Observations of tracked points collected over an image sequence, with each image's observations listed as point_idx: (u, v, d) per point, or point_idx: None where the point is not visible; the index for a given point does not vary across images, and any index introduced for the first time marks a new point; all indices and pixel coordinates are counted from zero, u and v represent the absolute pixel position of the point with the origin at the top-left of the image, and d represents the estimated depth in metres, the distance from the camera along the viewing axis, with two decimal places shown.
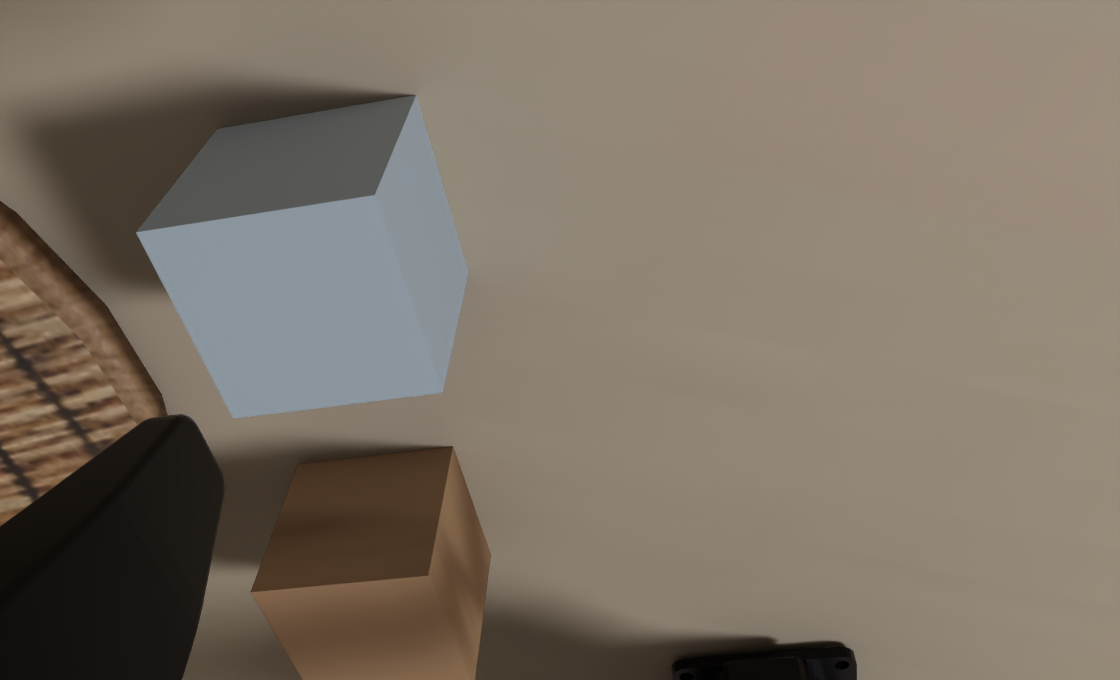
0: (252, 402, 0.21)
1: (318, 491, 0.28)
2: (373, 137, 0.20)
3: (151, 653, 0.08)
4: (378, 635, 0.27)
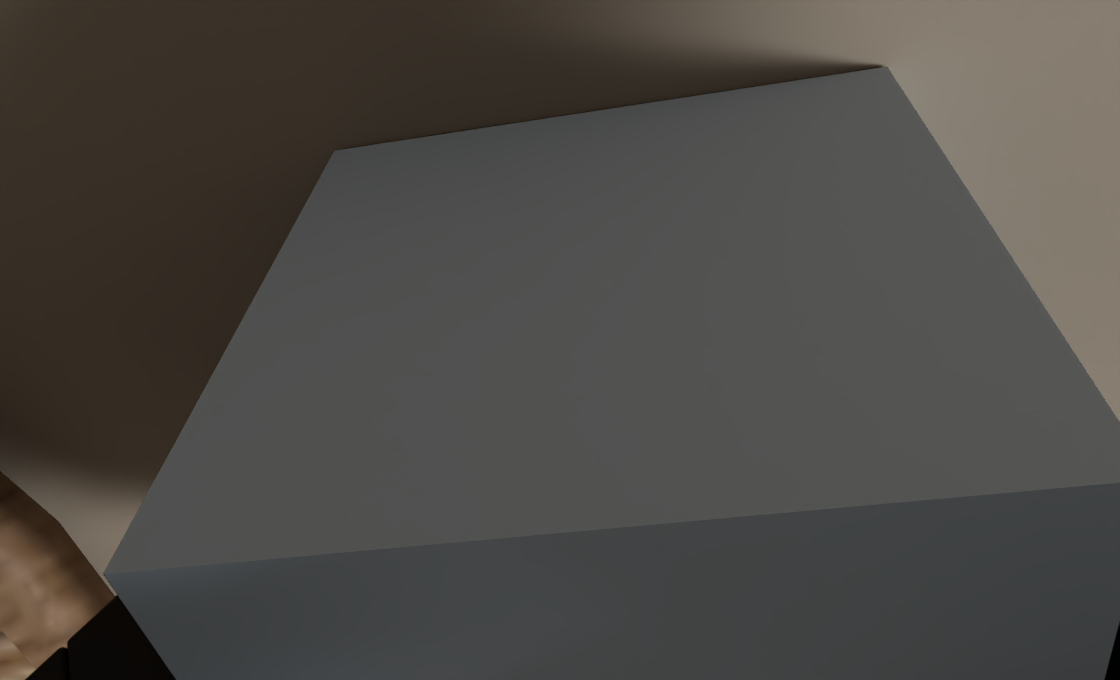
0: None
1: None
2: (870, 197, 0.06)
3: None
4: None
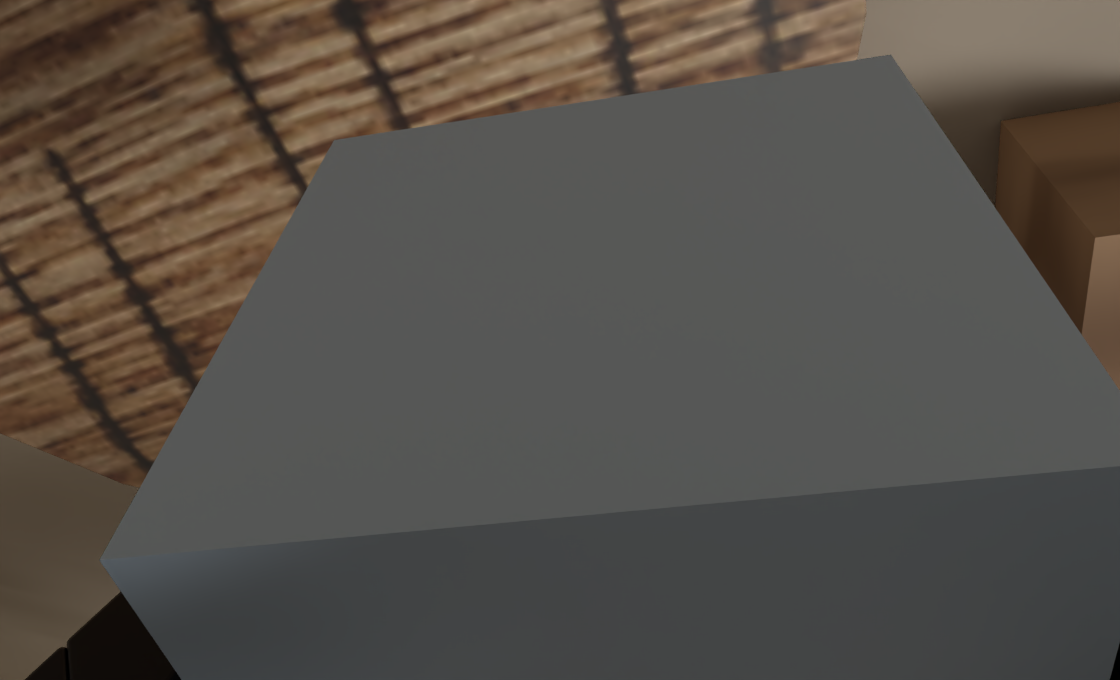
0: None
1: (1075, 139, 0.19)
2: (874, 182, 0.06)
3: None
4: None
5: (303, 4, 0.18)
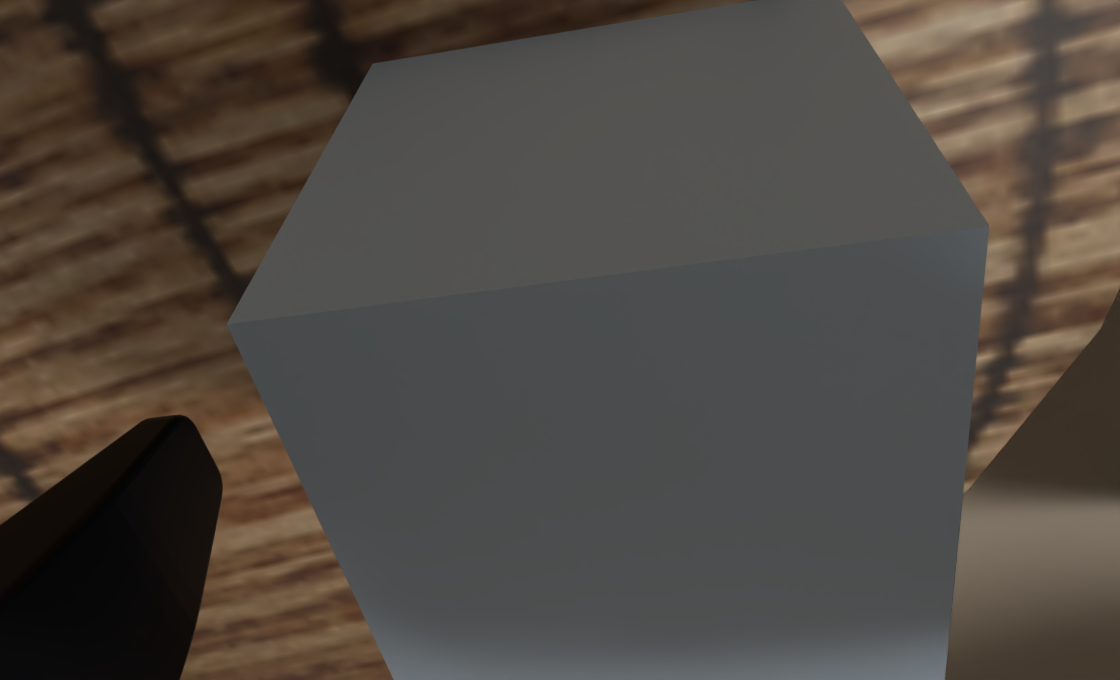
0: None
1: None
2: (809, 75, 0.08)
3: (149, 653, 0.08)
4: None
5: (260, 43, 0.10)
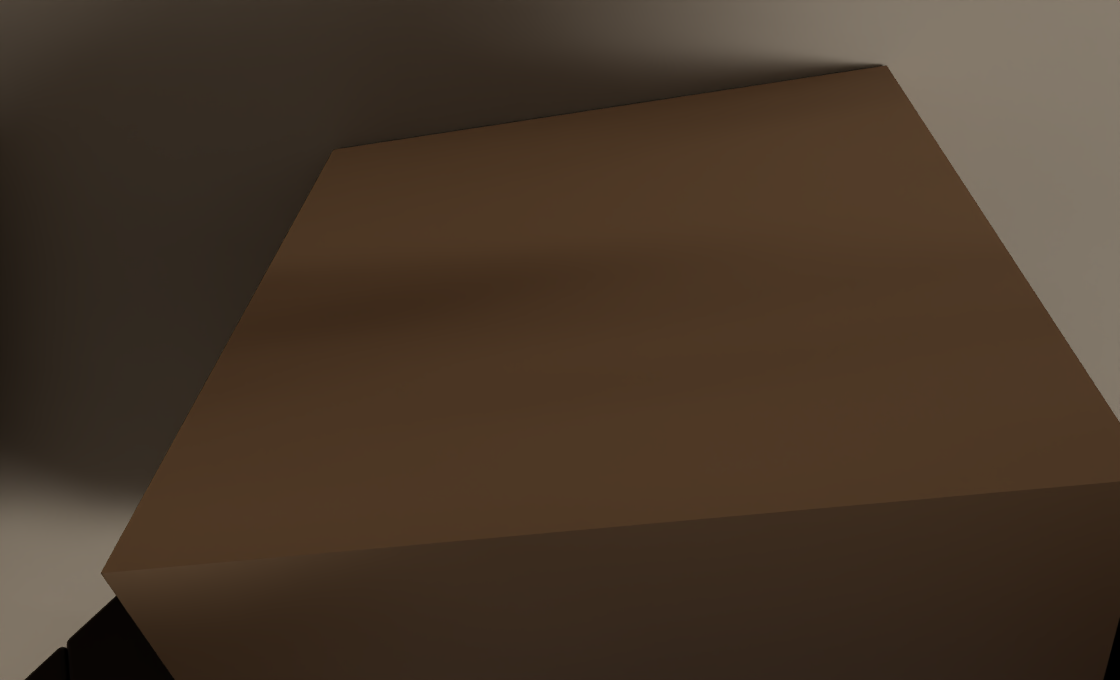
0: None
1: (412, 206, 0.08)
2: None
3: None
4: None
5: None
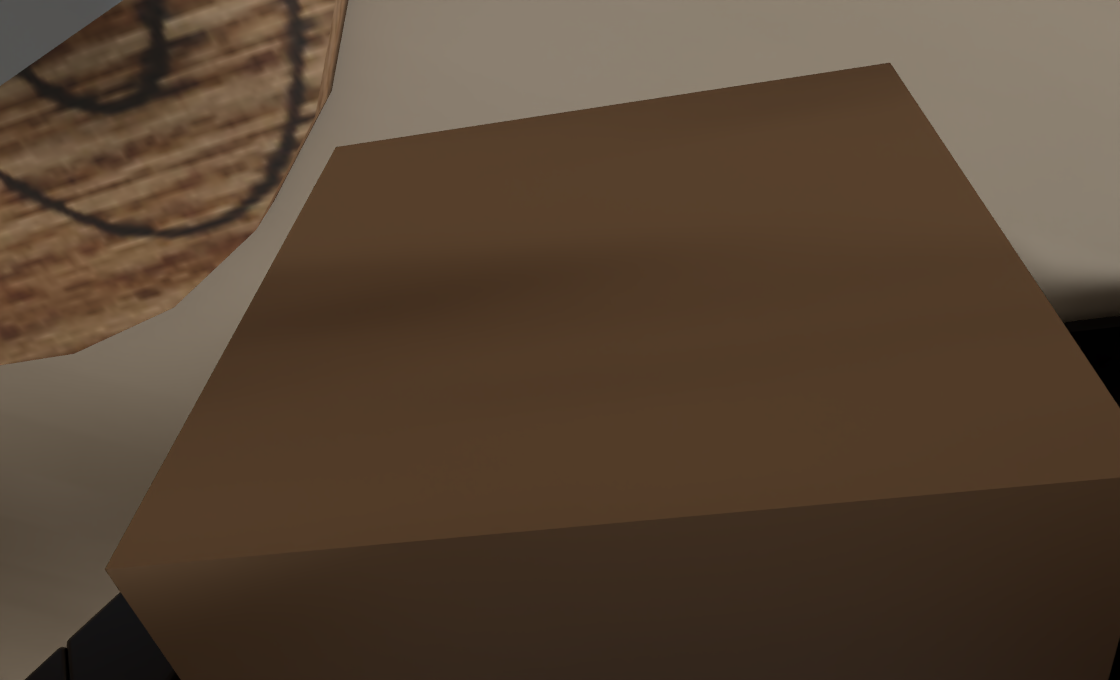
0: None
1: (415, 203, 0.08)
2: None
3: None
4: None
5: None
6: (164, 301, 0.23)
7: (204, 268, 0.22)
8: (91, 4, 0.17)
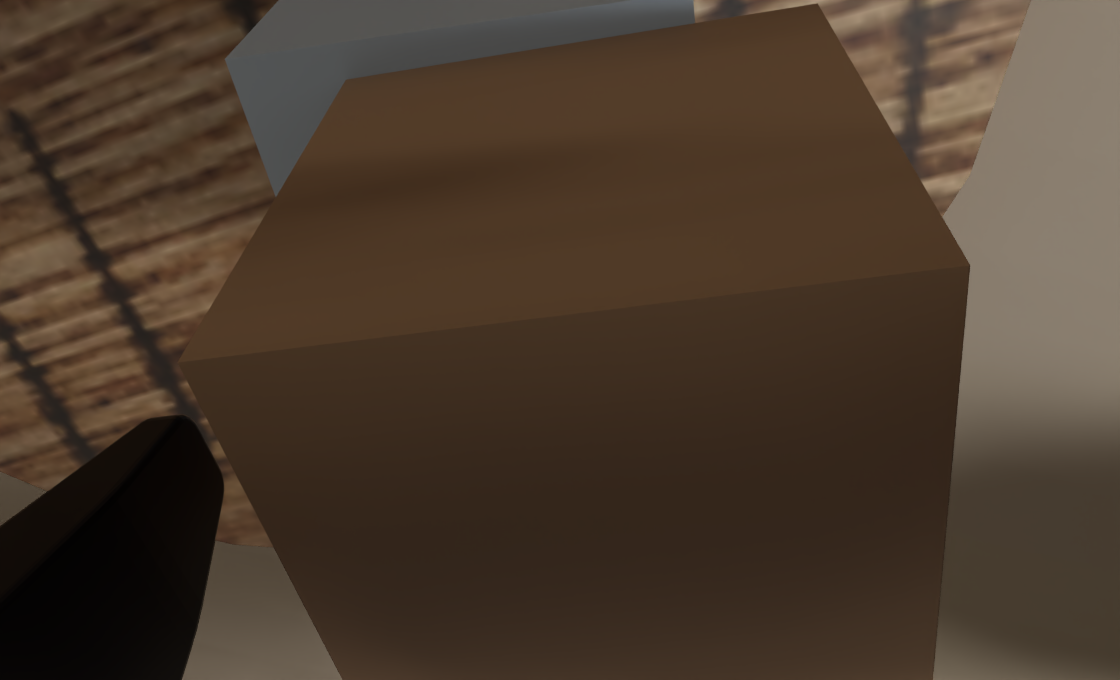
0: None
1: (415, 118, 0.09)
2: None
3: (151, 653, 0.08)
4: (660, 554, 0.07)
5: None
6: None
7: None
8: None
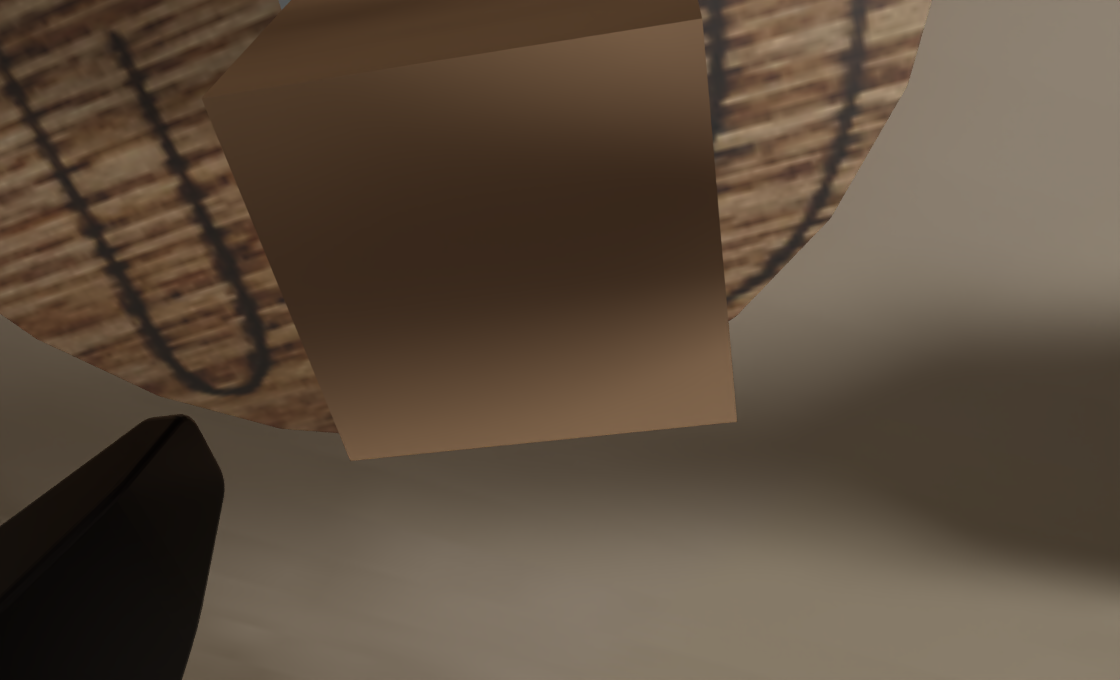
0: None
1: None
2: None
3: (151, 653, 0.08)
4: (529, 254, 0.10)
5: None
6: None
7: None
8: None
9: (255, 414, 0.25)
